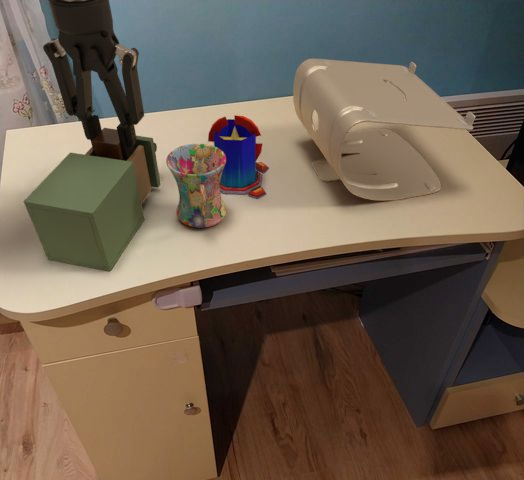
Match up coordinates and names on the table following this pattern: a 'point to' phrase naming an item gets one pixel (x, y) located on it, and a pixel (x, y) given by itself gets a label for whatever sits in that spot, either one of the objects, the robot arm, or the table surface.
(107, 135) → the block
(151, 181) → the drawer
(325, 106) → the laptop stand
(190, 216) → the mug
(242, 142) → the fantasy tower
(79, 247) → the cabinet
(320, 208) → the table surface
